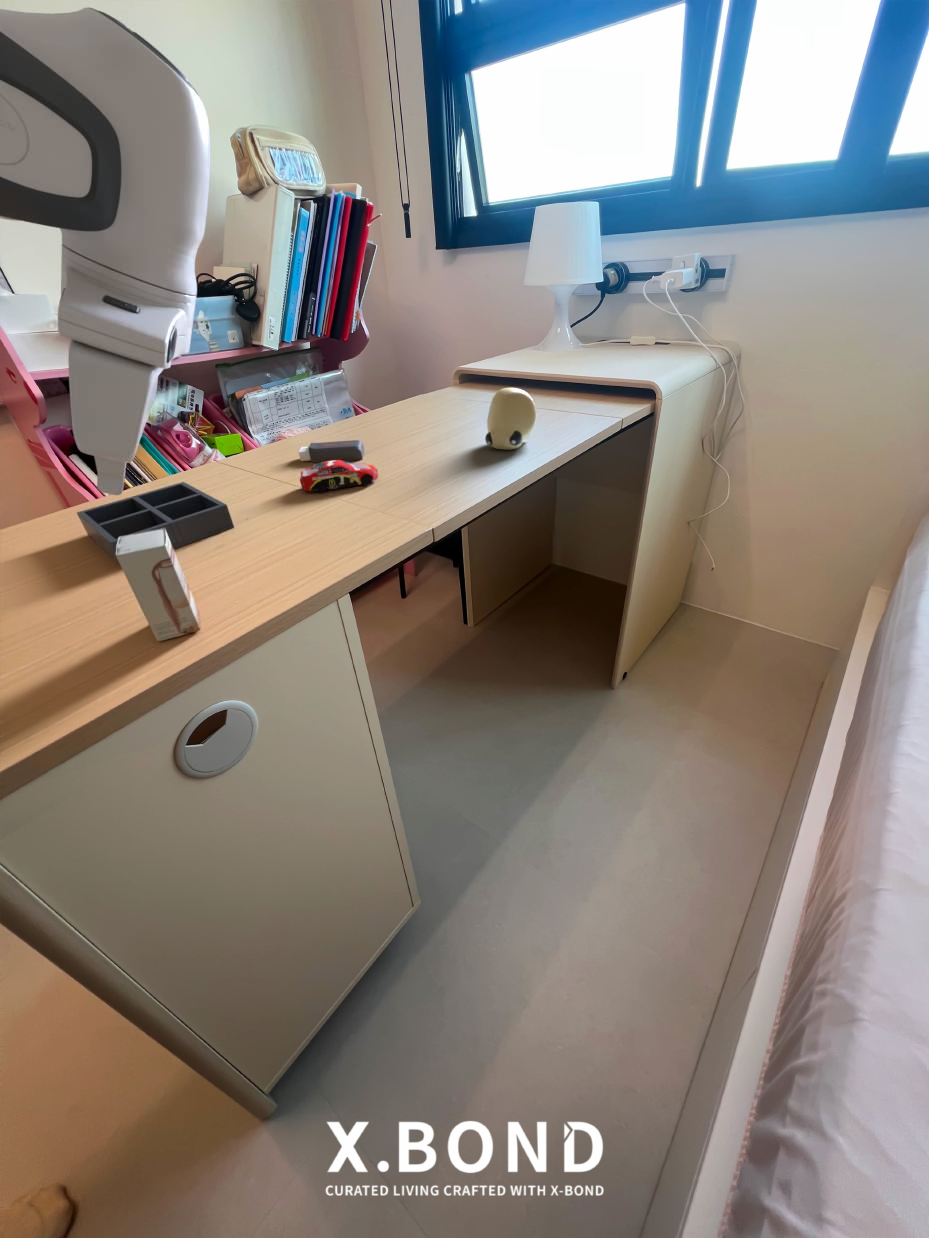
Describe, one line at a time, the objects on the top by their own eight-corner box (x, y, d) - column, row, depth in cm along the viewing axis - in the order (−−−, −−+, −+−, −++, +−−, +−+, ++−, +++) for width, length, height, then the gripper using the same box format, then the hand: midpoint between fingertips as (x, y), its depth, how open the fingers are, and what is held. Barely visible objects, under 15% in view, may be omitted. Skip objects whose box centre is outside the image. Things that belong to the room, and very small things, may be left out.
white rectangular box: (202, 631, 53) (165, 545, 47) (156, 643, 52) (112, 557, 46) (200, 607, 57) (165, 525, 51) (157, 618, 56) (117, 535, 50)
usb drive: (362, 459, 98) (360, 445, 97) (300, 464, 98) (296, 449, 96) (364, 451, 102) (362, 437, 101) (304, 455, 102) (301, 441, 100)
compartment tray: (122, 567, 66) (110, 542, 64) (88, 535, 75) (76, 512, 73) (234, 527, 75) (226, 504, 73) (191, 502, 84) (183, 481, 81)
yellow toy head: (488, 459, 106) (470, 435, 96) (500, 406, 107) (484, 376, 97) (532, 462, 102) (519, 437, 92) (545, 406, 103) (533, 376, 93)
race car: (376, 474, 91) (373, 452, 89) (381, 484, 87) (378, 461, 85) (301, 485, 88) (296, 462, 86) (303, 496, 84) (297, 472, 81)
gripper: (104, 280, 47) (97, 426, 53) (50, 311, 32) (49, 508, 38) (181, 309, 50) (166, 443, 56) (166, 350, 35) (147, 526, 41)
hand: (118, 470), depth 47 cm, fingers open, 8 cm apart
